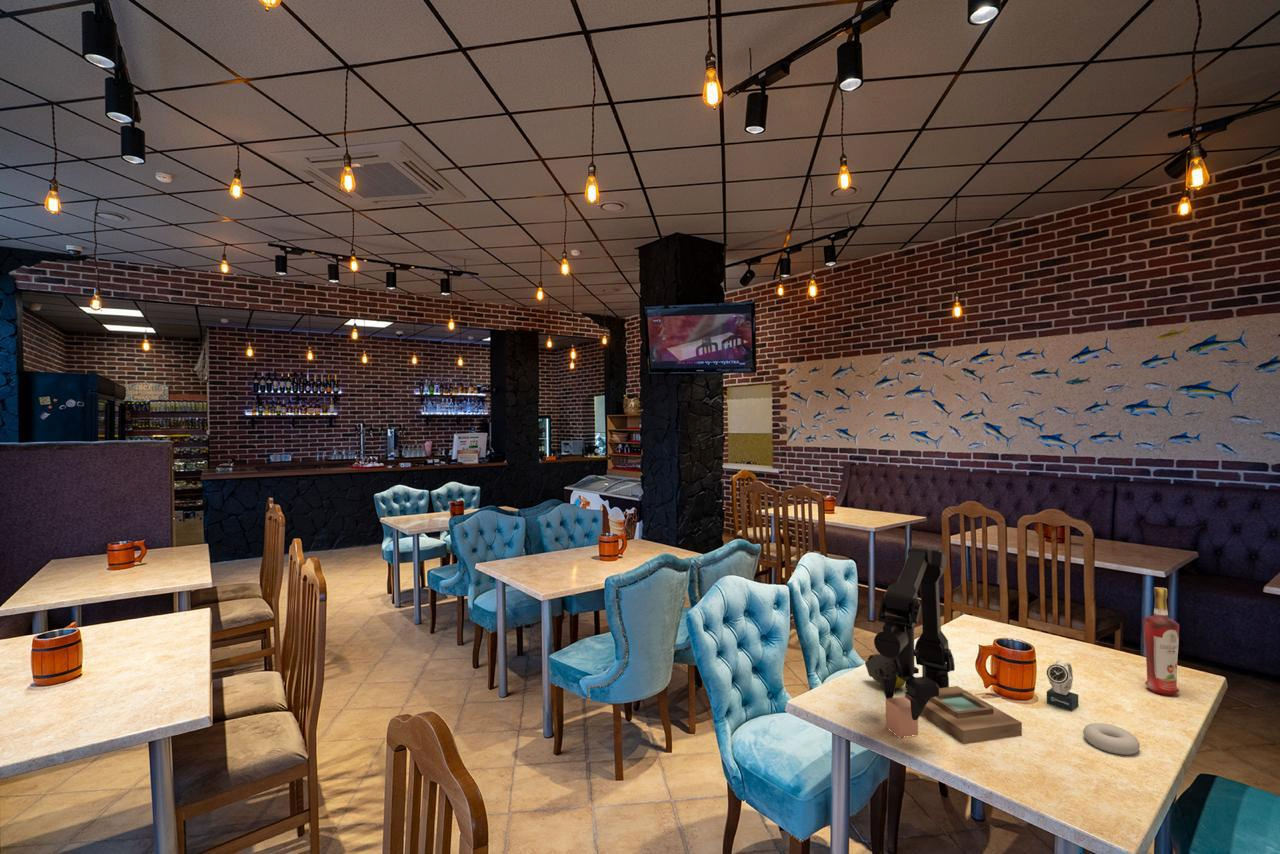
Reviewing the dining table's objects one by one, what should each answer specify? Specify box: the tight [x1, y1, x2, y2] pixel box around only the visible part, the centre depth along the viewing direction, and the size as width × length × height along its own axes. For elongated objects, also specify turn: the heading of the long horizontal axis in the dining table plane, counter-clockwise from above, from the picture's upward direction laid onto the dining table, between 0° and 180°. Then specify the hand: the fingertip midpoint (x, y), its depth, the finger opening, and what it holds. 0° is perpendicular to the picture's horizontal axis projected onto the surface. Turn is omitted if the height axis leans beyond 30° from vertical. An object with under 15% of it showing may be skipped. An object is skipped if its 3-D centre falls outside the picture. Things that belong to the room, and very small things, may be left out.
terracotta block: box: [885, 695, 919, 738], centre depth 138 cm, size 5×5×7 cm
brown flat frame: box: [904, 685, 1023, 744], centre depth 144 cm, size 20×16×4 cm
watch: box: [1046, 660, 1079, 712], centre depth 151 cm, size 6×8×11 cm
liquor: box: [1142, 586, 1180, 696], centre depth 158 cm, size 7×7×28 cm
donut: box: [1082, 722, 1141, 756], centre depth 132 cm, size 10×4×10 cm
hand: (901, 710), depth 138 cm, fingers open, 9 cm apart
